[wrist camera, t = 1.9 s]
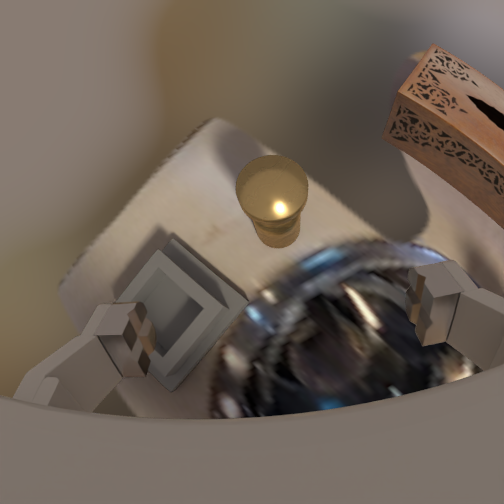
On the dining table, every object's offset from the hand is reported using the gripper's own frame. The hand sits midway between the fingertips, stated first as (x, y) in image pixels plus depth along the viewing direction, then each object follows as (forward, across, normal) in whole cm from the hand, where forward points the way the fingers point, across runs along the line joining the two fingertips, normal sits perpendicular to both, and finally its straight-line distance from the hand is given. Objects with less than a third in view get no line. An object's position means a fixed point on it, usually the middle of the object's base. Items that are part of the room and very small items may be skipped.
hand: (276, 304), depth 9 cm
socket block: (+21, +13, +17) cm, 30 cm away
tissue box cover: (+34, -30, +6) cm, 46 cm away
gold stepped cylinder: (+28, 0, +11) cm, 30 cm away
